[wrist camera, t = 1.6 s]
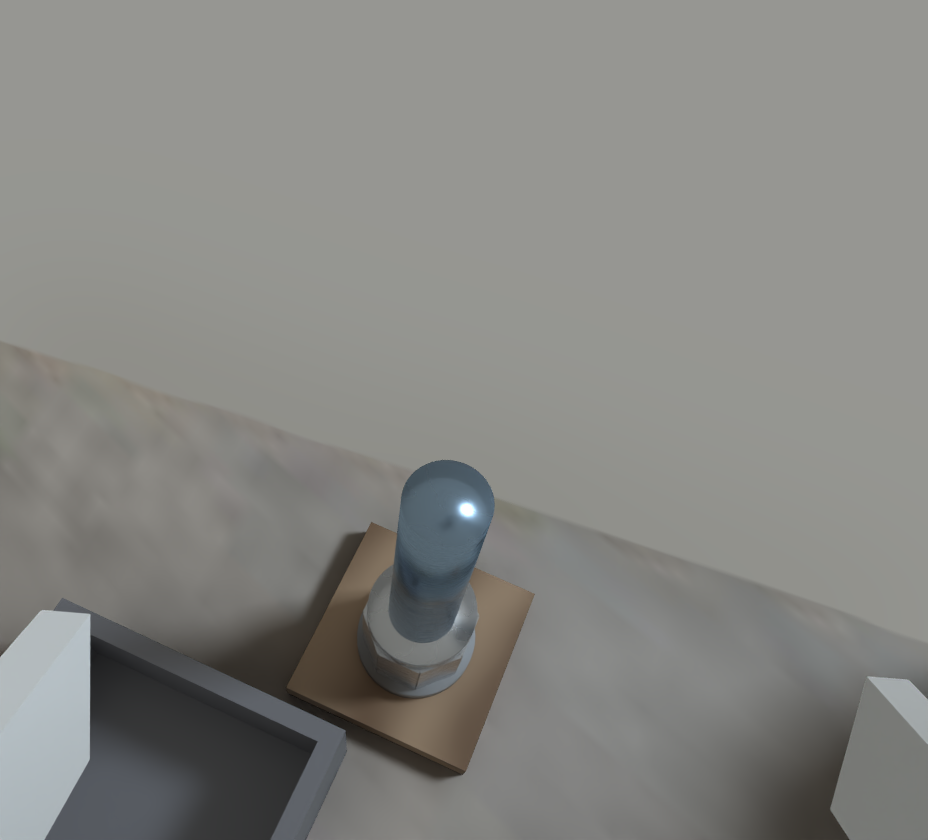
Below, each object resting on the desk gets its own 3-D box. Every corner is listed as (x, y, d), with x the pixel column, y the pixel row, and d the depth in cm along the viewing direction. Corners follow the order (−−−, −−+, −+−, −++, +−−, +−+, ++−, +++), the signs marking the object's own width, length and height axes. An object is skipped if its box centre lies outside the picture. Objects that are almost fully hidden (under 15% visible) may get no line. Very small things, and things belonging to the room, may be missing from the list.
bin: (346, 751, 48) (345, 730, 42) (194, 1080, 41) (166, 1113, 35) (97, 634, 50) (62, 597, 44) (-95, 930, 42) (-171, 935, 36)
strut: (481, 609, 51) (543, 470, 34) (442, 702, 48) (489, 599, 31) (392, 569, 51) (410, 414, 35) (348, 659, 48) (345, 536, 32)
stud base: (530, 601, 54) (549, 568, 49) (462, 774, 49) (476, 759, 43) (371, 531, 55) (372, 491, 50) (287, 693, 50) (279, 668, 44)
